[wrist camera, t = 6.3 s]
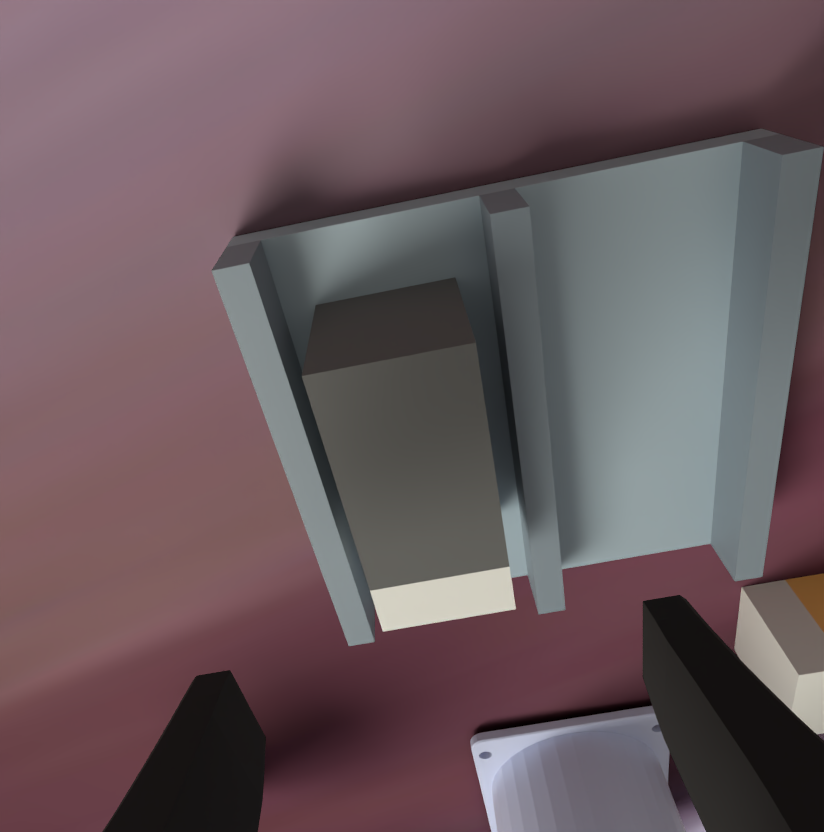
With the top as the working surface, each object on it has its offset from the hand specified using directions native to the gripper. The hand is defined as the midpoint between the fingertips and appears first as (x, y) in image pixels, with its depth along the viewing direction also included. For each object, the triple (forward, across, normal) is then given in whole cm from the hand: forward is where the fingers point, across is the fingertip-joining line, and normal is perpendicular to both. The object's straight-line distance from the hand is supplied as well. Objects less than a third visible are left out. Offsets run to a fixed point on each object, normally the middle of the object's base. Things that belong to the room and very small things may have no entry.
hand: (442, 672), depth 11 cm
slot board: (+8, -3, 0) cm, 9 cm away
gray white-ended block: (+8, 0, 0) cm, 8 cm away
